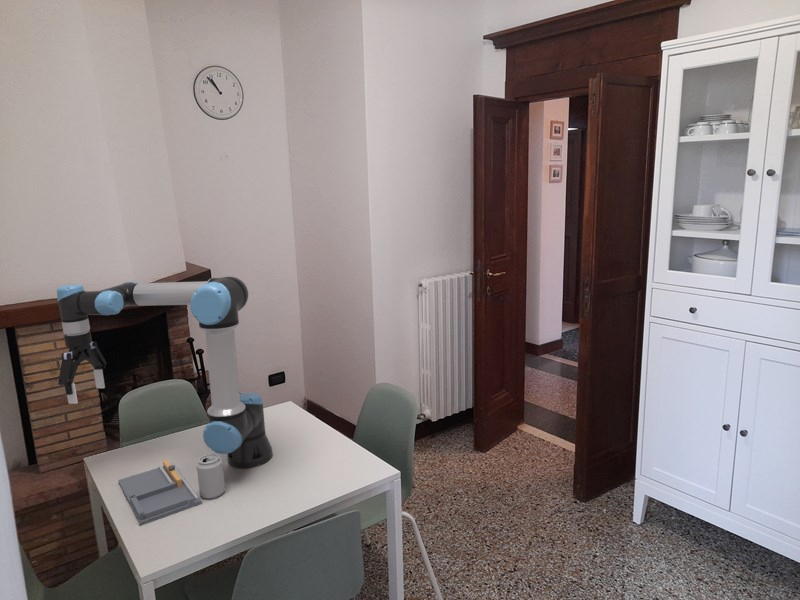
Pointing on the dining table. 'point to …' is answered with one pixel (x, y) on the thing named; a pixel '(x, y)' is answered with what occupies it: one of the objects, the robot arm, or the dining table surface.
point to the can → (210, 476)
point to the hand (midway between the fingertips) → (87, 395)
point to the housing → (157, 494)
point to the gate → (172, 473)
